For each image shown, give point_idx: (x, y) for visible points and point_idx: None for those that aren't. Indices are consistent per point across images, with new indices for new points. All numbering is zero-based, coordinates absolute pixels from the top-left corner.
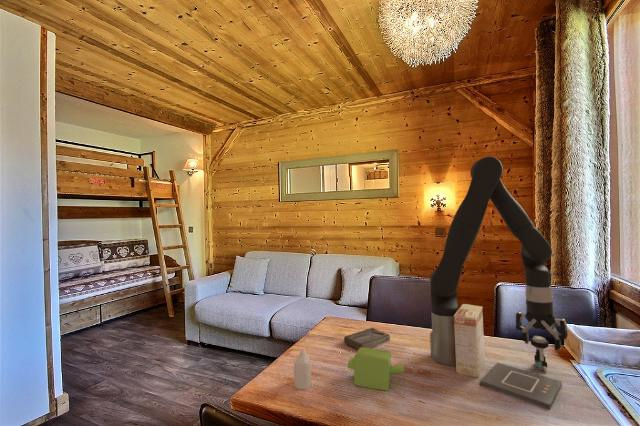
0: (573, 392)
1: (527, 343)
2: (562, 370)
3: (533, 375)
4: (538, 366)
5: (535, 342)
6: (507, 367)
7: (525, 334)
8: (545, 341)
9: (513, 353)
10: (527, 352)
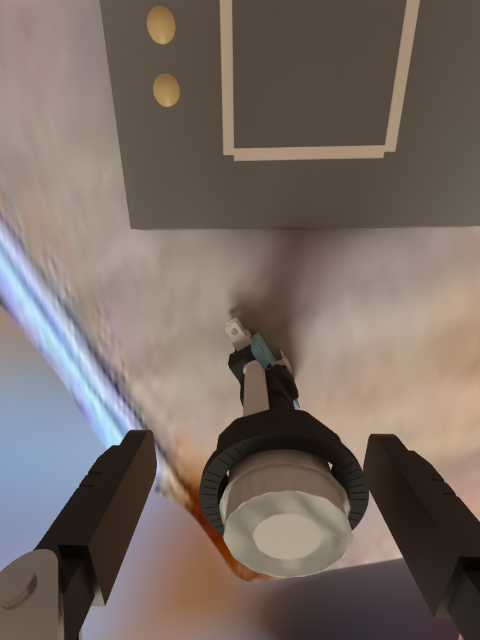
0: (80, 185)
1: (371, 438)
2: (183, 391)
3: (264, 190)
4: (270, 352)
5: (307, 443)
6: (419, 190)
7: (460, 533)
8: (226, 508)
9: (395, 432)
10: None
